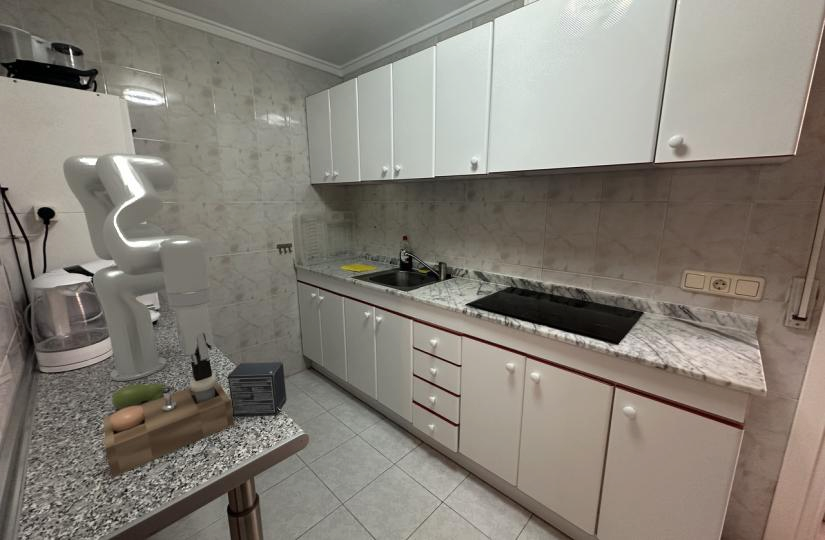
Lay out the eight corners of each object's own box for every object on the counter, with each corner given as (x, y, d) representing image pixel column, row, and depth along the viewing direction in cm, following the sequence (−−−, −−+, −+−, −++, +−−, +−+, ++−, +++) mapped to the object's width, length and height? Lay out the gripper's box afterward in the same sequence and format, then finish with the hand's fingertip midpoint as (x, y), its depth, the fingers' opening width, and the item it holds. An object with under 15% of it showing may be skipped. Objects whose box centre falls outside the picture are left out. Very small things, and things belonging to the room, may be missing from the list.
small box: (288, 399, 80) (284, 360, 78) (278, 416, 74) (274, 374, 72) (245, 400, 80) (240, 361, 78) (231, 417, 74) (226, 375, 72)
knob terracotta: (117, 446, 64) (109, 413, 63) (147, 434, 67) (141, 402, 66) (118, 459, 61) (110, 425, 59) (150, 446, 64) (143, 413, 62)
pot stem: (161, 408, 67) (157, 388, 66) (175, 403, 69) (172, 384, 68) (163, 413, 66) (159, 393, 65) (177, 408, 67) (174, 388, 66)
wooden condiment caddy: (109, 442, 66) (103, 417, 65) (219, 401, 80) (215, 379, 78) (112, 477, 58) (105, 448, 56) (234, 424, 71) (230, 400, 70)
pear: (110, 385, 77) (162, 375, 84) (110, 407, 77) (162, 395, 85) (114, 394, 73) (168, 383, 81) (113, 416, 74) (167, 403, 81)
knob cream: (192, 407, 73) (187, 377, 71) (216, 398, 76) (212, 369, 74) (197, 417, 69) (192, 386, 68) (222, 407, 72) (217, 377, 71)
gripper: (162, 294, 70) (176, 371, 74) (174, 309, 59) (190, 399, 63) (202, 288, 75) (213, 360, 79) (220, 300, 64) (232, 384, 68)
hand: (203, 377), depth 71 cm, fingers closed
